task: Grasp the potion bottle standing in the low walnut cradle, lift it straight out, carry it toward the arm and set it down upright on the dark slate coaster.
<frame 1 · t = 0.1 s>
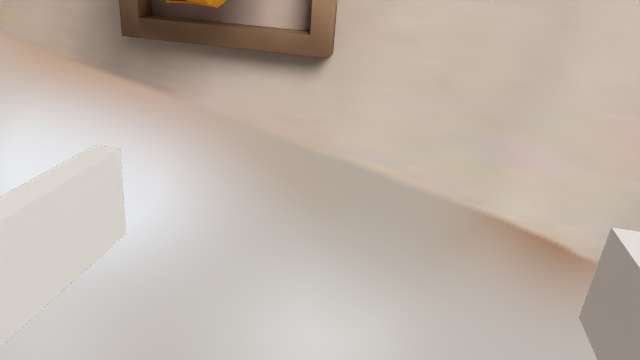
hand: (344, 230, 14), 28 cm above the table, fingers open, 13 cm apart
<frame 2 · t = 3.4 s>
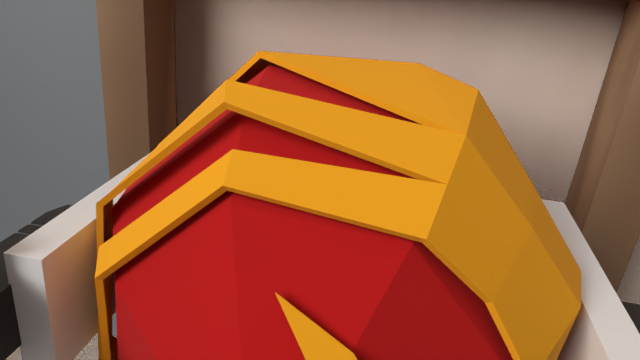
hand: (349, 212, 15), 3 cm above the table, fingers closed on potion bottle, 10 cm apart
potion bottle: (361, 170, 18), resting in cradle, touching gripper
cradle: (361, 172, 18), on the table
when the fingers open (5 cm above the table, at t = 10.1 s): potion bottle drops 1 cm, resting on coaster.
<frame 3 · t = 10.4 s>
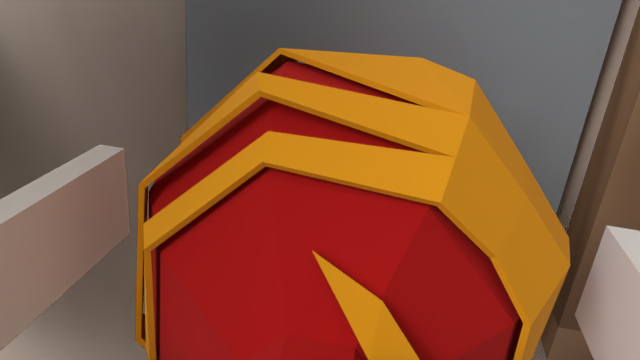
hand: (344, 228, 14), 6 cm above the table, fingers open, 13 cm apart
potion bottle: (361, 162, 19), point 1 cm above the table, touching coaster
coaster: (367, 153, 20), on the table
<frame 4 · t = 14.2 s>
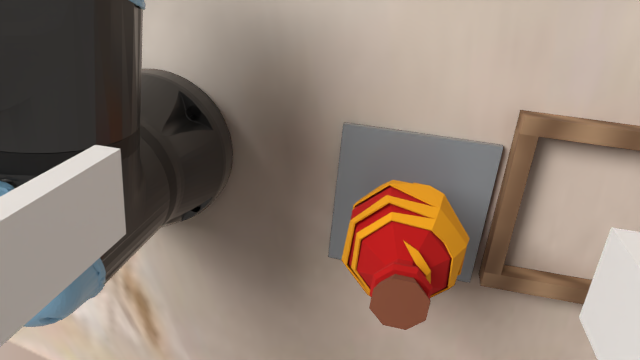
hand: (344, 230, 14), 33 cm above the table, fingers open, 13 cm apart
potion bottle: (406, 206, 49), resting on coaster
coaster: (409, 203, 49), on the table
cradle: (593, 212, 46), on the table
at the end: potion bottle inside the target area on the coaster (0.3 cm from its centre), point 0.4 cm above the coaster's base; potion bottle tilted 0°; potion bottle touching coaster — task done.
